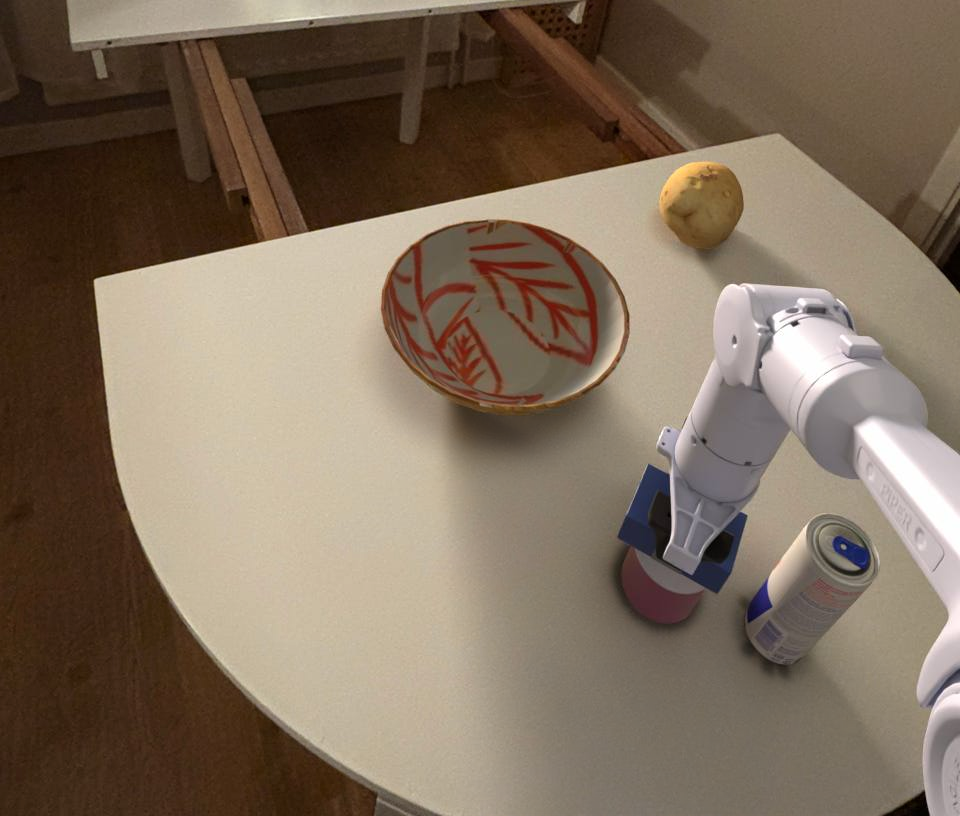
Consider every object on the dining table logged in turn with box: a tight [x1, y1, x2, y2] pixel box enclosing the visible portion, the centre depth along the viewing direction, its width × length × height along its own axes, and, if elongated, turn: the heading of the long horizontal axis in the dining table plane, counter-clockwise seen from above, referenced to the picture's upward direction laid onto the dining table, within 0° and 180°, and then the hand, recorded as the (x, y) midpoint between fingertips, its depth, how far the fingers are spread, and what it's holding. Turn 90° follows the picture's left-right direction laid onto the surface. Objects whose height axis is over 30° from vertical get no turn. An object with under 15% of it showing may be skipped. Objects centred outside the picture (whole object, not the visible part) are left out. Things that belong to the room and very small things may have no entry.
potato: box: [659, 161, 745, 250], centre depth 97 cm, size 10×12×10 cm
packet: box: [616, 463, 748, 595], centre depth 58 cm, size 8×5×4 cm, turn 61°
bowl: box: [380, 218, 631, 416], centre depth 79 cm, size 25×25×8 cm
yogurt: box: [620, 546, 707, 624], centre depth 63 cm, size 7×7×6 cm
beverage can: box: [743, 512, 881, 665], centre depth 58 cm, size 5×5×15 cm
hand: (681, 527), depth 58 cm, fingers closed on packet, 5 cm apart
